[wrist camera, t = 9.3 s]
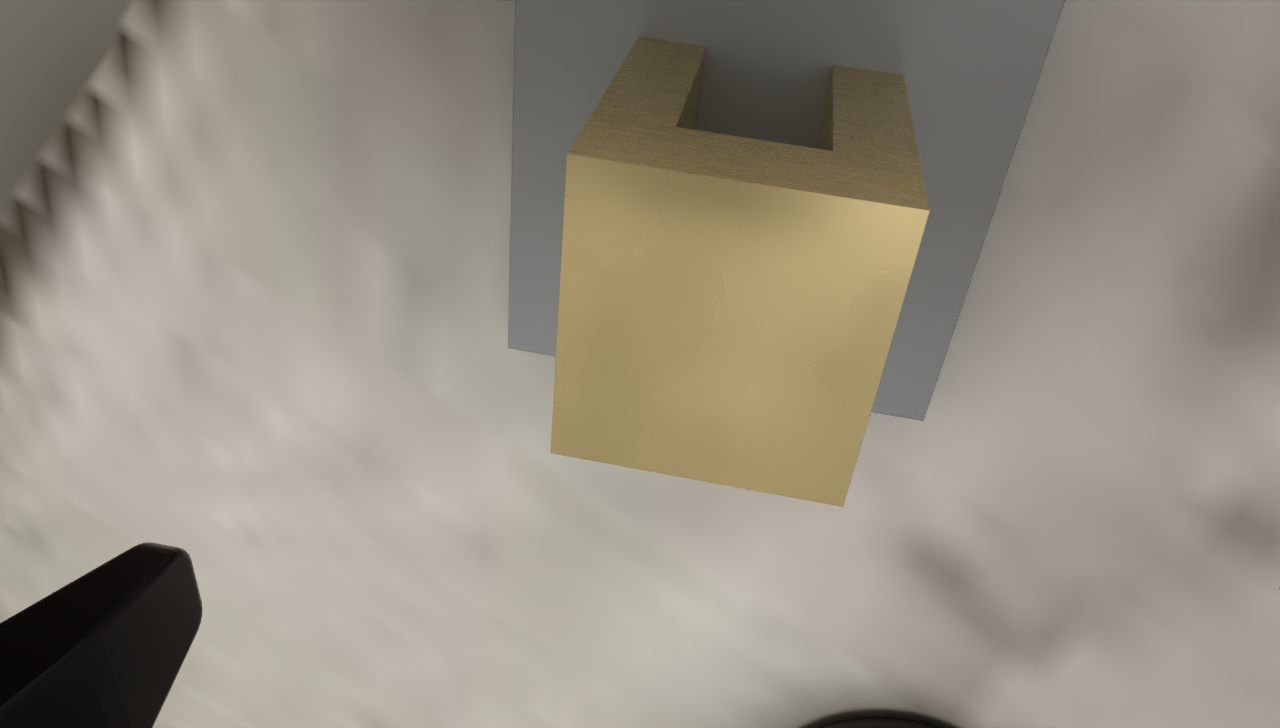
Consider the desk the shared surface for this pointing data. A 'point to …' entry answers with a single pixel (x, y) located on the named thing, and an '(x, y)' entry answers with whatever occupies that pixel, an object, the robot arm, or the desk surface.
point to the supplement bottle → (877, 724)
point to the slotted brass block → (732, 280)
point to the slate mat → (789, 126)
